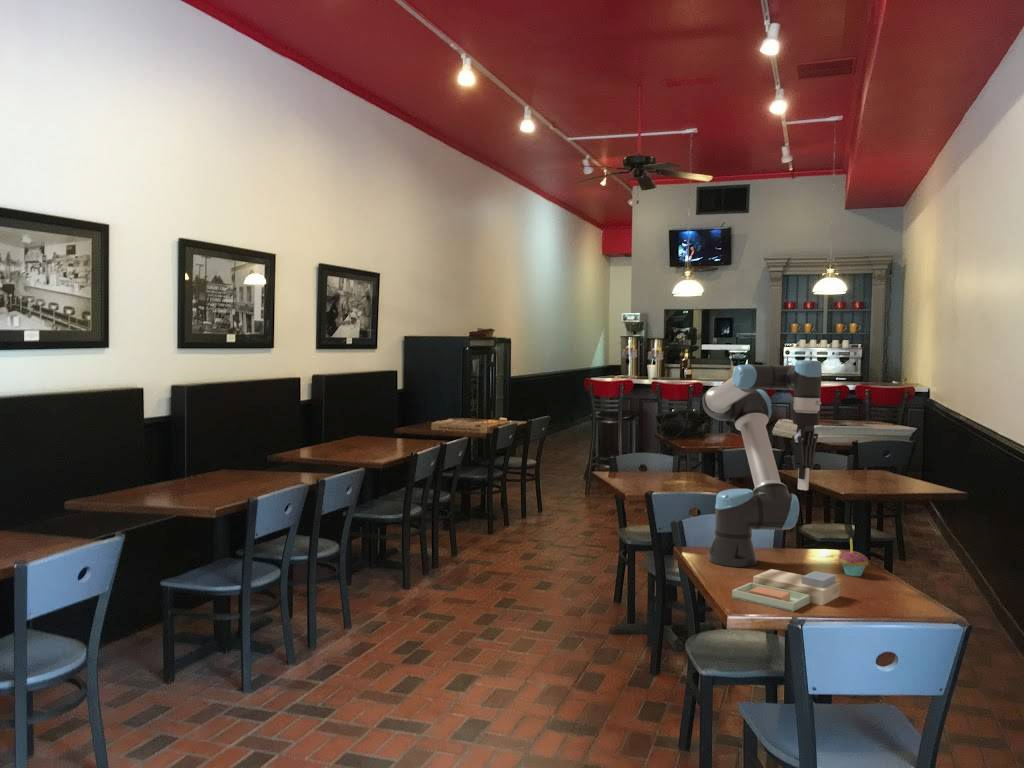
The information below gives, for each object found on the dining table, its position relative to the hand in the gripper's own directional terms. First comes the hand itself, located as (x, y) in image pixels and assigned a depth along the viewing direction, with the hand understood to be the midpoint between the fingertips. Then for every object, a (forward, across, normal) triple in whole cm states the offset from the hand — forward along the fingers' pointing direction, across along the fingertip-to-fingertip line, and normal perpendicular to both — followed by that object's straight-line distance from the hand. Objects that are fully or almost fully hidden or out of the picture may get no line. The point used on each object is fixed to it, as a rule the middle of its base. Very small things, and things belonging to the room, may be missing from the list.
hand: (802, 489), depth 249 cm
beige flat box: (+27, -17, -7) cm, 32 cm away
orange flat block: (+25, -30, -6) cm, 39 cm away
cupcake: (+27, +17, -9) cm, 34 cm away
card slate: (+22, -16, -13) cm, 30 cm away
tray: (+27, -29, -6) cm, 40 cm away
